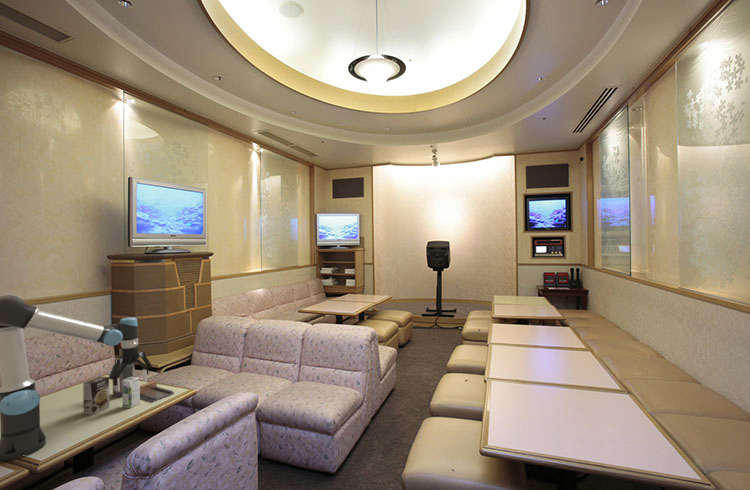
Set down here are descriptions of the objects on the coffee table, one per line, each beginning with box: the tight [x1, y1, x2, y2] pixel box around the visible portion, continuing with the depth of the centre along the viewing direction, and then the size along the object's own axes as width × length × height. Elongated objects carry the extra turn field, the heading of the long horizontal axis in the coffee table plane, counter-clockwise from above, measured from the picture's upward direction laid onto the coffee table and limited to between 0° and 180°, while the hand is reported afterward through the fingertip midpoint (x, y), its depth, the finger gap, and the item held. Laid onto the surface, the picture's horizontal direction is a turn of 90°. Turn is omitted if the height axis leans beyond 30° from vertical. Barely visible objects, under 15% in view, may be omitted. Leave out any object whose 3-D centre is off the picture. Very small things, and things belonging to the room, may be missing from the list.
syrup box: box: [122, 377, 141, 409], centre depth 187 cm, size 6×6×14 cm
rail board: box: [140, 380, 175, 403], centre depth 199 cm, size 12×18×5 cm, turn 63°
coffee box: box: [82, 376, 110, 416], centre depth 182 cm, size 9×6×16 cm
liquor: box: [111, 342, 136, 398], centre depth 202 cm, size 9×9×30 cm
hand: (131, 386), depth 187 cm, fingers open, 13 cm apart
